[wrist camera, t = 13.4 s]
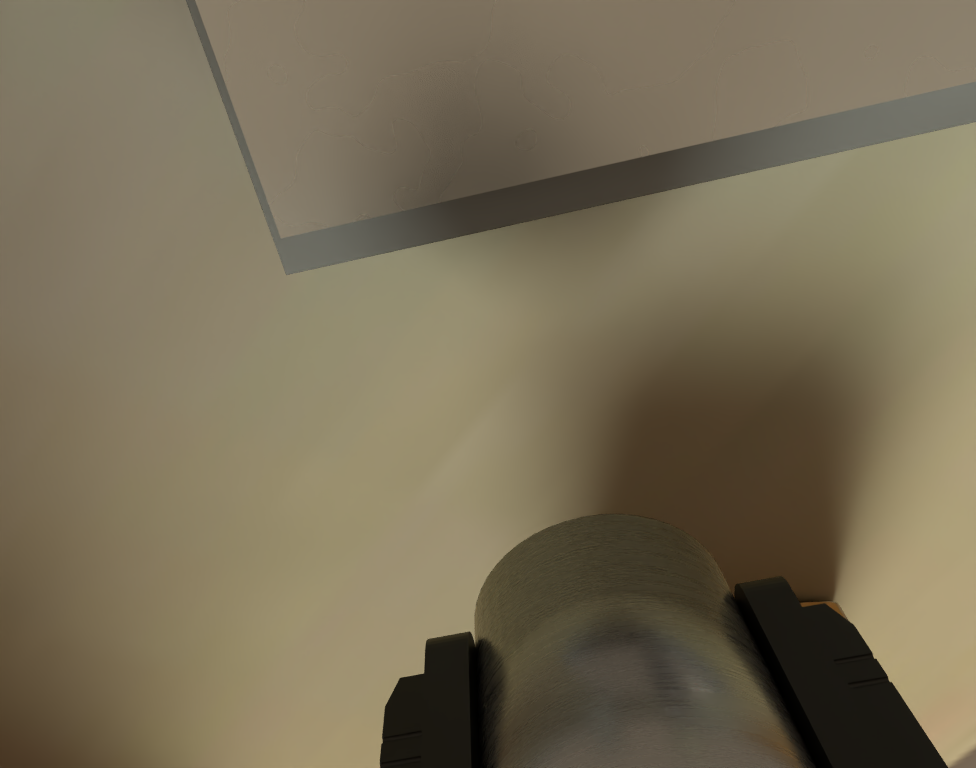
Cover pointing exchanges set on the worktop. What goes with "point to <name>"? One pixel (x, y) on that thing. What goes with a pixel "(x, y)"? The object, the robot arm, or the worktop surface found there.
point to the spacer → (622, 657)
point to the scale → (603, 174)
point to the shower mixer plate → (544, 85)
